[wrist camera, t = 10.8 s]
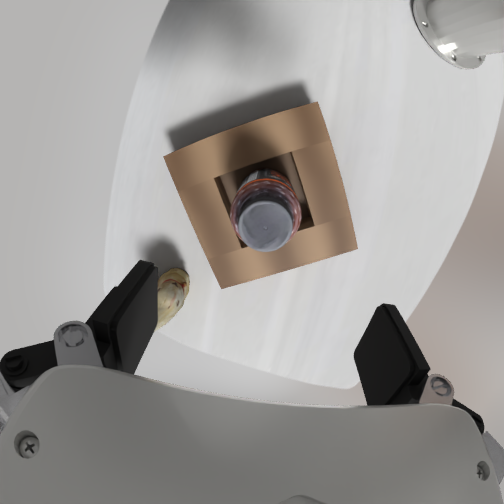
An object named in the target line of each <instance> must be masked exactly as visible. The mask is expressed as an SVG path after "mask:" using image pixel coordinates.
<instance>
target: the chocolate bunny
mask: <svg viewBox="0 0 504 504" xmlns="http://www.w3.org/2000/svg"><path fill="white" fill-rule="evenodd" d="M189 283H190V281H189V276H188V274H187V273H186V272H185V271H184V270H182V269H180V268H173V269H170V270H169V271H168V272H166V273H164V274H162V275H161V277H160V278H159V280H158V323H157V326H156V328H155V330H154V332H155V331H156V330H158V329H159V328H160V327H162V326H164V325H165V324H166V323H167V322H169V321H170V320H171V319H172V318H173V317H174V316H175V314H176V313H177V312H178V311H179V310H180V309H181V307H182V306H183V304H184V300H185V298H186V296H187V294H188V292H189V285H190V284H189Z"/></svg>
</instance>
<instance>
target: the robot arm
mask: <svg viewBox="0 0 504 504" xmlns="http://www.w3.org/2000/svg"><path fill="white" fill-rule="evenodd" d="M413 13H414V17H415V20H416V23H417V25H418V28H419V29H420V31H421V33H422V35H423V37H424V38H425V39H426V41H427V42H428V44H429V45H430V46H431V47H432V48H433V49H434V51H435V52H436V53H437V54H439V55H440V56H441V57H442V58H443V59H444V60H446V61H447V62H448V63H450V64H452V65H454V66H455V67H458V68H461V69H474V68H477V67H479V66H480V65H482V63H483V62H484V60H485V57H486V55H488V54H495V53H501V52H504V0H414V3H413ZM157 323H158V268H157V267H154V263H152V262H147V261H143V260H140V261H138V263H137V264H136V265H135V266H134V267H133V269H132V270H131V271H130V272H129V273H128V275H127V276H126V277H125V278H124V279H123V281H122V282H121V283H120V284H119V286H118V287H117V286H116V287H114V288H113V289H112V290H111V291H110V292H109V294H108V295H107V296H106V297H105V299H104V300H103V301H102V302H101V304H100V305H99V306H98V307H97V309H96V310H95V311H94V313H93V314H92V315H91V316H90V318H89V319H88V320H87V322H86V323H83V322H80V321H70V322H66V323H64V324H62V325H60V326H59V327H58V328H57V329H56V331H55V333H54V340H52V341H48V342H44V343H40V344H36V345H32V346H28V347H24V348H20V349H15V350H12V351H9V352H8V353H6V354H5V355H4V356H3V358H2V359H1V362H0V504H503V500H502V495H501V491H500V487H499V484H500V482H501V481H502V479H503V477H504V449H503V448H502V447H501V446H500V444H499V443H498V442H497V441H496V440H495V439H494V438H493V437H492V436H491V435H490V434H489V433H488V432H487V431H486V432H485V433H484V423H483V420H482V418H481V416H480V415H478V414H476V413H475V412H474V411H472V410H470V409H469V408H467V407H466V406H464V405H463V404H461V403H459V402H458V401H456V400H455V399H453V396H454V388H453V386H452V384H451V382H450V381H449V380H448V379H447V378H445V377H444V376H442V375H440V374H432V375H430V376H428V374H427V373H428V372H429V370H430V367H429V365H428V363H427V361H426V360H425V357H424V355H423V354H422V352H421V350H420V348H419V346H418V344H417V343H416V341H415V339H414V337H413V335H412V334H411V332H410V330H409V328H408V327H407V325H406V323H405V321H404V320H403V318H402V316H401V314H400V313H399V311H398V309H397V308H396V306H395V305H391V304H384V303H383V304H382V305H380V306H378V307H377V308H376V310H375V312H374V314H373V316H372V319H371V321H370V323H369V325H368V327H367V328H366V330H365V332H364V334H363V336H362V338H361V340H360V342H359V344H358V346H357V347H356V349H355V351H354V360H355V363H356V367H357V370H358V373H359V377H360V380H361V383H362V387H363V390H364V394H365V398H366V401H367V405H368V406H335V405H334V406H333V405H311V404H296V403H284V402H273V401H265V400H256V399H249V398H242V397H235V396H229V395H223V394H217V393H212V392H206V391H201V390H196V389H192V388H187V387H182V386H178V385H174V384H169V383H165V382H160V381H157V380H153V379H148V378H145V377H141V376H137V375H134V373H135V370H136V368H137V366H138V364H139V362H140V360H141V358H142V355H143V353H144V351H145V349H146V347H147V345H148V343H149V341H150V339H151V337H152V335H153V333H154V330H155V328H156V326H157Z"/></svg>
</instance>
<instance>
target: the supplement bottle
mask: <svg viewBox="0 0 504 504" xmlns="http://www.w3.org/2000/svg"><path fill="white" fill-rule="evenodd" d="M230 220H231V224H232V227H233V229H234V231H235V233H236V234H237V236H238V237H239V238H240V239H241V240H242V241H243V242H244V243H245V244H246V245H247V246H249V247H250V248H252V249H254V250H256V251H261V252H271V251H275V250H277V249H279V248H281V247H282V246H283V245H285V244H286V243H287V242H288V241H289V240H291V239H292V238H293V236H294V235H295V234H296V232H297V230H298V228H299V226H300V222H301V207H300V203H299V200H298V198H297V195H296V193H295V191H294V189H293V187H292V184H291V182H290V181H289V179H288V178H287V177H286V176H285V175H283V174H282V173H280V172H279V171H277V170H274V169H268V168H264V169H259V170H256V171H253V172H252V173H250V174H249V175H248V176H247V177H246V178H245V179H244V180H243V182H242V184H241V185H240V188H239V189H238V192H237V194H236V196H235V198H234V200H233V202H232V205H231V210H230Z"/></svg>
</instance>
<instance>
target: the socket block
mask: <svg viewBox="0 0 504 504" xmlns="http://www.w3.org/2000/svg"><path fill="white" fill-rule="evenodd" d="M163 157H164V159H165V162H166V164H167V167H168V169H169V172H170V174H171V177H172V179H173V181H174V184H175V186H176V189H177V191H178V193H179V196H180V198H181V200H182V203H183V205H184V207H185V210H186V212H187V214H188V217H189V219H190V221H191V224H192V226H193V228H194V230H195V233H196V235H197V237H198V239H199V242H200V244H201V246H202V248H203V250H204V253H205V255H206V257H207V259H208V261H209V264H210V266H211V268H212V270H213V272H214V274H215V276H216V279H217V281H218V283H219V285H220V287H221V289H223V288H227V287H231V286H234V285H238V284H241V283H245V282H248V281H252V280H255V279H259V278H262V277H266V276H269V275H273V274H276V273H280V272H283V271H287V270H290V269H293V268H297V267H300V266H303V265H307V264H310V263H313V262H317V261H320V260H323V259H327V258H330V257H333V256H336V255H340V254H343V253H346V252H349V251H352V250H356V249H358V247H357V242H356V237H355V232H354V228H353V223H352V219H351V214H350V210H349V206H348V201H347V197H346V193H345V189H344V186H343V182H342V178H341V174H340V171H339V167H338V164H337V160H336V157H335V153H334V150H333V147H332V143H331V140H330V137H329V134H328V131H327V128H326V124H325V121H324V119H323V116H322V113H321V110H320V107H319V104H318V102H314V103H311V104H307V105H303V106H299V107H296V108H292V109H289V110H285V111H282V112H279V113H275V114H272V115H269V116H266V117H263V118H260V119H257V120H254V121H251V122H248V123H245V124H242V125H239V126H236V127H234V128H231V129H228V130H226V131H223V132H220V133H218V134H215V135H213V136H210V137H208V138H205V139H203V140H200V141H198V142H195V143H193V144H191V145H188V146H186V147H184V148H181V149H179V150H177V151H174V152H172V153H170V154H168V155H166V156H163ZM264 168H268V169H274V170H277V171H279V172H280V173H282V174H283V175H285V176H286V177H287V178H288V179H289V181H290V182H291V184H292V187H293V189H294V191H295V193H296V195H297V198H298V200H299V203H300V207H301V222H300V226H299V228H298V230H297V232H296V234H295V235H294V236H293V238H292V239H291V240H289V241H288V242H287V243H286V244H285V245H283V246H282V247H281V248H279V249H277V250H275V251H271V252H261V251H256V250H254V249H252V248H250V247H249V246H247V245H246V244H245V243H244V242H243V241H242V240H241V239H240V238H239V237H238V236H237V234H236V233H235V231H234V229H233V227H232V224H231V220H230V210H231V205H232V202H233V200H234V198H235V196H236V194H237V192H238V189H239V188H240V185H241V184H242V182H243V180H244V179H245V178H246V177H247V176H248V175H249V174H250V173H252V172H253V171H256V170H259V169H264Z"/></svg>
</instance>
